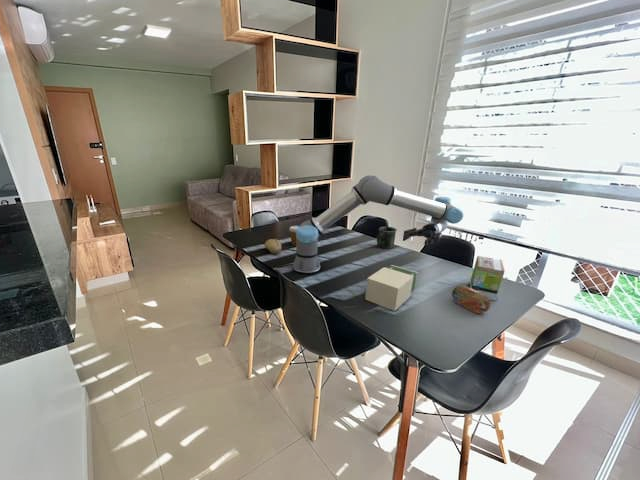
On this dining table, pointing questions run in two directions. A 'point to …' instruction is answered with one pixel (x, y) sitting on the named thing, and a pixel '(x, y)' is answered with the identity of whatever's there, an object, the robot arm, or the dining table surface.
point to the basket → (406, 273)
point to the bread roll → (273, 246)
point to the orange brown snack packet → (471, 299)
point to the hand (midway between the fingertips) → (414, 240)
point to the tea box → (487, 276)
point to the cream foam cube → (388, 288)
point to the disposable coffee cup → (293, 234)
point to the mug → (386, 237)
